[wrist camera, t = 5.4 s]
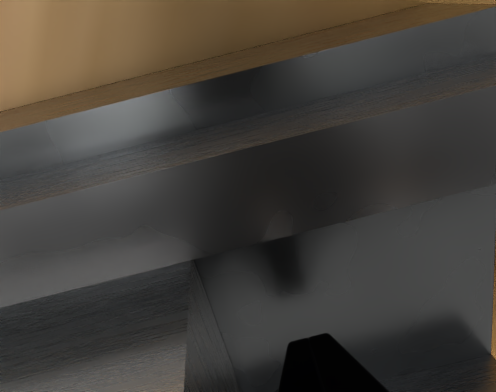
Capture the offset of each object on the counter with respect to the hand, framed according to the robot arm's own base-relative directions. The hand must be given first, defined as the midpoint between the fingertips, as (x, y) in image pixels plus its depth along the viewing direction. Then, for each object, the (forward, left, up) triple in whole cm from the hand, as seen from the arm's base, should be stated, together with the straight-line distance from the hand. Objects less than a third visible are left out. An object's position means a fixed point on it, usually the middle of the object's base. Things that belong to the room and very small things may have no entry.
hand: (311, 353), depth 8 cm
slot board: (+2, 0, -4) cm, 4 cm away
